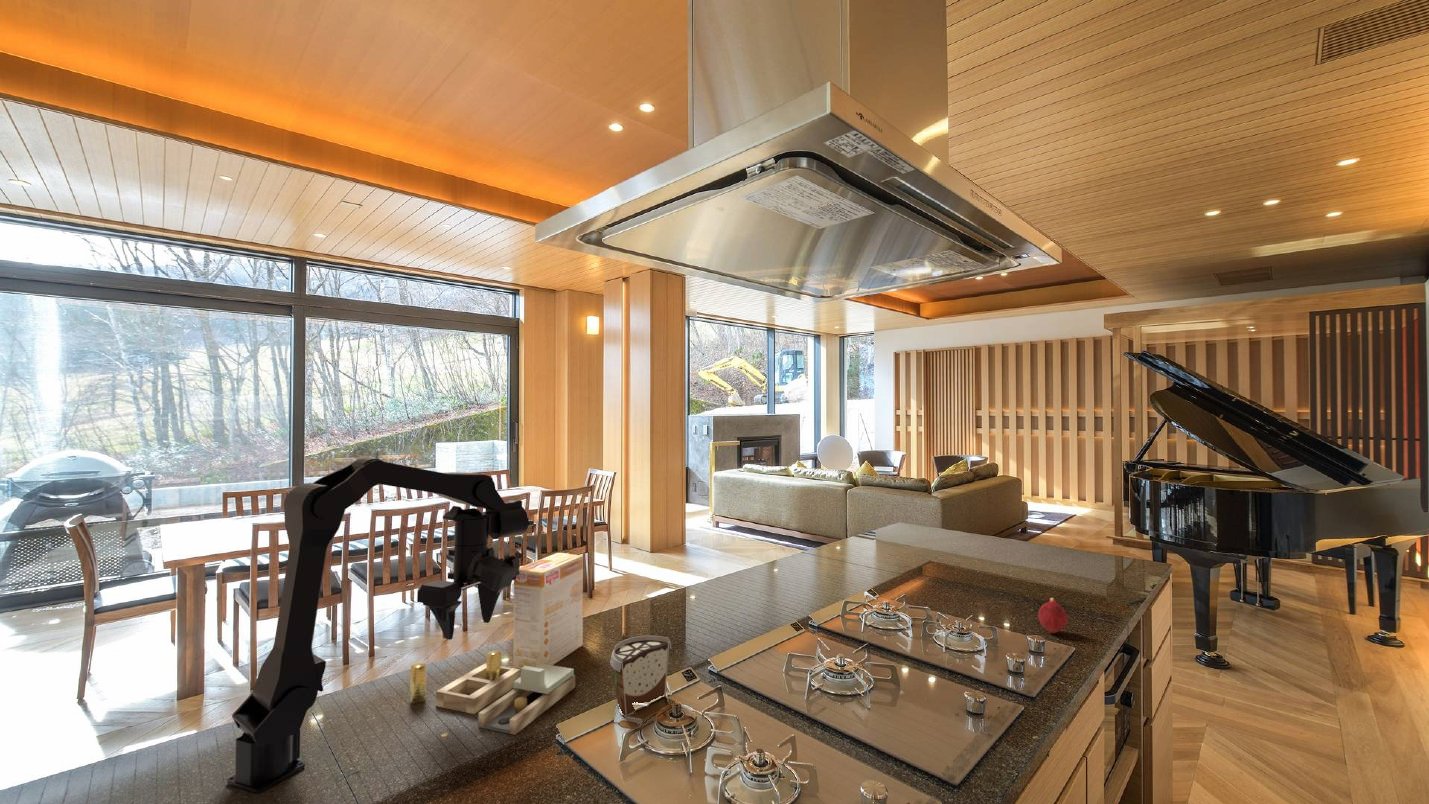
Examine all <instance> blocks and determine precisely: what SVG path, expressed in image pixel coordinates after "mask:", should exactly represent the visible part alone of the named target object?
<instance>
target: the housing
mask: <svg viewBox="0 0 1429 804" xmlns="http://www.w3.org/2000/svg"><path fill="white" fill-rule="evenodd" d="M575 687H576V674H574V675H572V676H571V677H570V678H568V679H567V680H566V681H564V682H563V683H562V684H560V685H559V686H558V687H556V688H555V689H554V690H552V691H551V692H550V693H548V694H544V693H542V695H541V696H539V697H537V699H535V700H534V701H533V702H531V703H529V704H528V698H527V697H529V696H530V695H531V694H533V693H534V691H528V690H523V689H518V688H512V689H511V690H509V691H508V692H506V693H505V694H503V695H502V696H500V697H499V698H497V699H496V700H494V701H493V702H491V703H490V705H487V706H486V708H485V707H484V708H483V709H481V710H480V711H478V716H477V717H478V720H477V721H478V723H477V724H478V728H481V729H487V730H491V731H495V732H500V733H504V734H510V735H513V736H516V735H517V734H518V733H519V732H520V731H522V730H523V729H524V728H526V726H528V725H530V724H531V723H532V722H533V721H534V720H536V719H537V718H538V717H539V716H541V715H542V714H543V713H544V712H545V711H547V710H548V709H550V708H551V707H552V706H553V705H554V704H556V703H557V702H559V700H561V699H562V698H564V697H565V696H566V695H567V694H569V692H571V691H573V689H575Z"/></svg>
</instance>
